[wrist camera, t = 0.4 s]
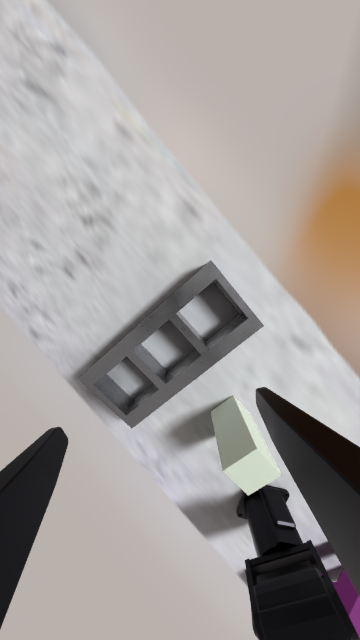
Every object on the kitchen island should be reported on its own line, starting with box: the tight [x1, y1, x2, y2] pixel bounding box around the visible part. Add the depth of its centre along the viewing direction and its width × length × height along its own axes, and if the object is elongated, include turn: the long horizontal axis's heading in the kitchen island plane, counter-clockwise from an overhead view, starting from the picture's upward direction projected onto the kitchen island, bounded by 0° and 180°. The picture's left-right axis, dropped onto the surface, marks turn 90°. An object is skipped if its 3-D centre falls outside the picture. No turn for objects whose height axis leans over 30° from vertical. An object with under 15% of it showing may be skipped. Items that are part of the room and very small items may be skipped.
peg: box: [211, 396, 282, 496], centre depth 21 cm, size 4×4×8 cm
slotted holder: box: [78, 261, 264, 428], centre depth 21 cm, size 20×9×3 cm, turn 131°
